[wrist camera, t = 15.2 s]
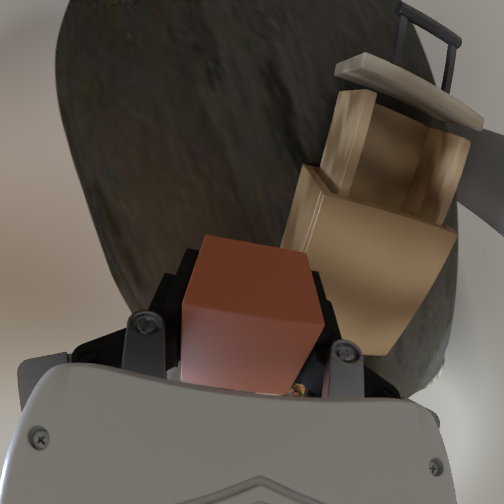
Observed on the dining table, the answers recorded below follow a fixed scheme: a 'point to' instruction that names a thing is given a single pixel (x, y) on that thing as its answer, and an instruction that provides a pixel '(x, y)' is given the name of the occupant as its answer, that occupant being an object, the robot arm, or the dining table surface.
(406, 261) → the cabinet
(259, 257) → the block
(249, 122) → the dining table surface
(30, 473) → the robot arm
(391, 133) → the drawer
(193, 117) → the dining table surface
